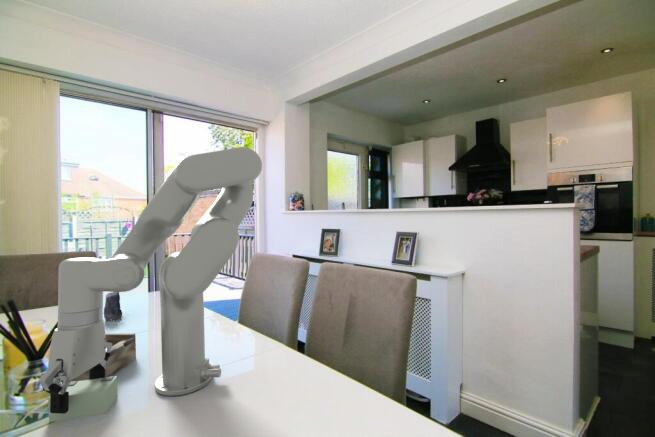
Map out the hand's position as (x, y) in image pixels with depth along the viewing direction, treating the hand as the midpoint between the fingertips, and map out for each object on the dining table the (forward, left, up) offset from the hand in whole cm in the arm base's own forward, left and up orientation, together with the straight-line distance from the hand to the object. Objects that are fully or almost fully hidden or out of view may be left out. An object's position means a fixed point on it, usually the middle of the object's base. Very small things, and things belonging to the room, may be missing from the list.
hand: (79, 398), depth 67 cm
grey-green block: (-1, 0, -3) cm, 3 cm away
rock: (+36, -59, -3) cm, 70 cm away
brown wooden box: (+8, -17, -3) cm, 19 cm away
